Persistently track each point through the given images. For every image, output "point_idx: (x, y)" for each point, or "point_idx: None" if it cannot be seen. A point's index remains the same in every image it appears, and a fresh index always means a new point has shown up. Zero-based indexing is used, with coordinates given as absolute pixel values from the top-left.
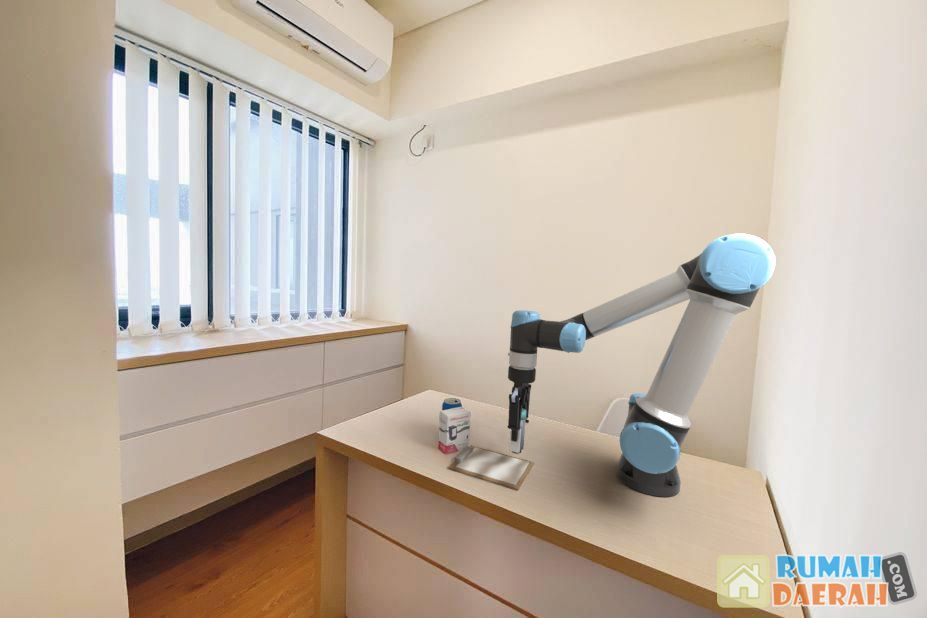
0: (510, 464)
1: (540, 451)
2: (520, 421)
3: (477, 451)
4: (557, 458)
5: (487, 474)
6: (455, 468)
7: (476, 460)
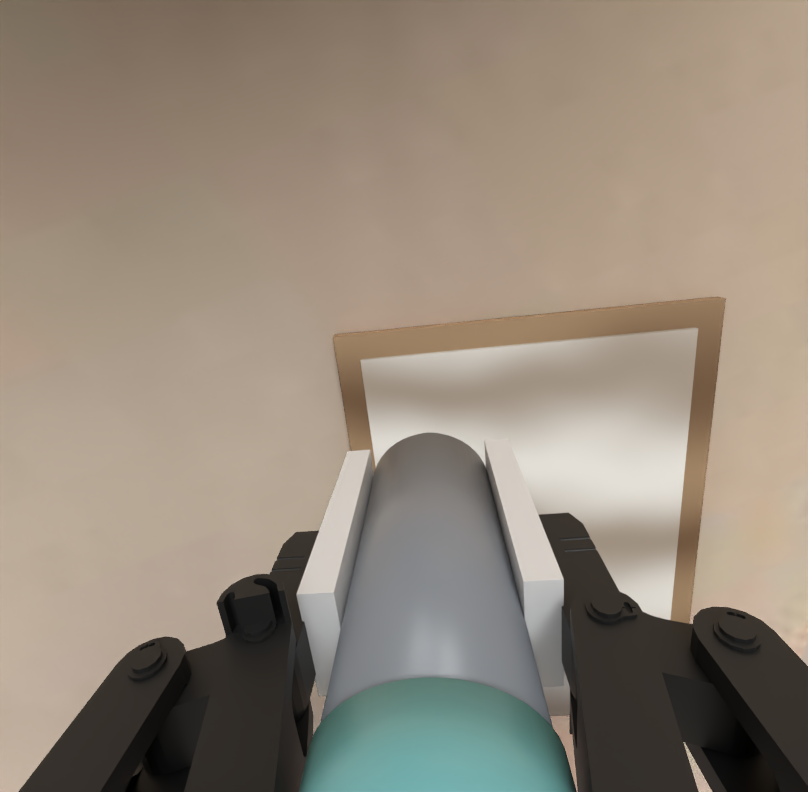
0: None
1: (136, 359)
2: (600, 699)
3: None
4: (136, 216)
5: (661, 510)
6: None
7: None
